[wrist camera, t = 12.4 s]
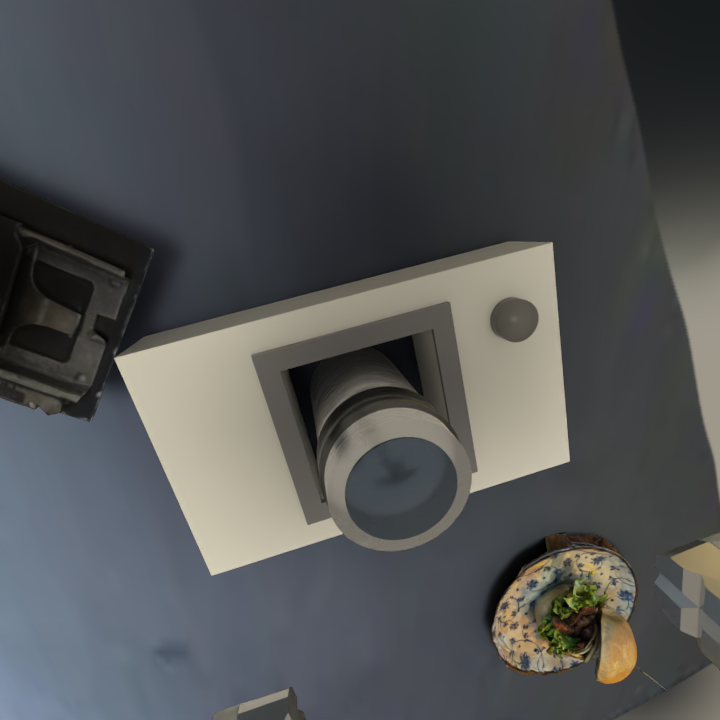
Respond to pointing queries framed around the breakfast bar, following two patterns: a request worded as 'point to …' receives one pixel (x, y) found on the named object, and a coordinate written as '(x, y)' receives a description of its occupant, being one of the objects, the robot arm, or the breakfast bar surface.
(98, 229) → the vintage camera
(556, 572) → the burger
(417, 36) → the breakfast bar surface
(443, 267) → the camera body
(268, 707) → the robot arm
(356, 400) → the lens
